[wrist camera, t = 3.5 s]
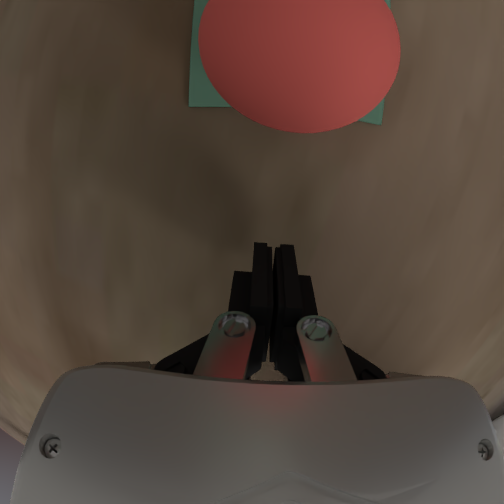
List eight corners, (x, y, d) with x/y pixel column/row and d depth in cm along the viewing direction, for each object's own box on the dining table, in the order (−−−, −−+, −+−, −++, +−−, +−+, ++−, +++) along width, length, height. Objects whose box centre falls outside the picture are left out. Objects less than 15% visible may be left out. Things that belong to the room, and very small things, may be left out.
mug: (464, 433, 31) (478, 482, 22) (505, 405, 27) (523, 455, 18) (479, 437, 34) (490, 478, 25) (512, 414, 30) (527, 455, 22)
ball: (377, 18, 8) (453, -18, 3) (342, 140, 11) (401, 184, 6) (235, -21, 8) (210, -93, 3) (202, 104, 11) (147, 119, 6)
